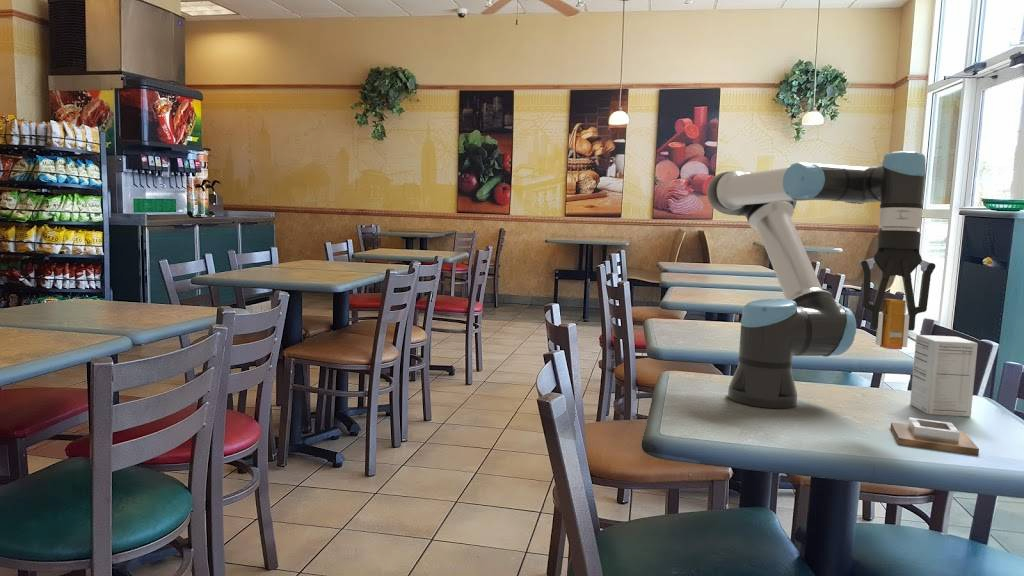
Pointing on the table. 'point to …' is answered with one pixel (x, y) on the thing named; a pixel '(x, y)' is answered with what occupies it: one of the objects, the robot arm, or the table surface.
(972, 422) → the table surface
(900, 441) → the board
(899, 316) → the supplement box
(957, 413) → the supplement box
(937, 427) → the collar
